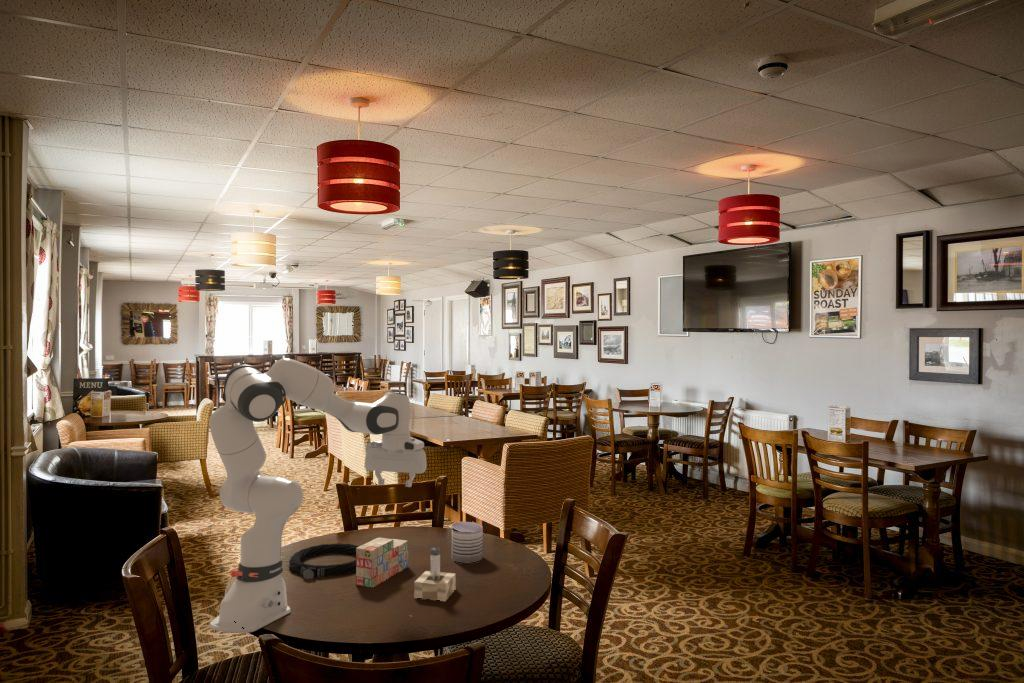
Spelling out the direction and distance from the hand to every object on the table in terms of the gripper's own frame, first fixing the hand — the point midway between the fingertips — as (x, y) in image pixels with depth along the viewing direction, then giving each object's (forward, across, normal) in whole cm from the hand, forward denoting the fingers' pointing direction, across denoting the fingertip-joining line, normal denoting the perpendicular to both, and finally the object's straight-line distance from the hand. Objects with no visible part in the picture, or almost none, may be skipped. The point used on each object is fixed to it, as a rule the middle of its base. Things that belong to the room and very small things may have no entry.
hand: (394, 485), depth 213 cm
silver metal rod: (+32, +15, -3) cm, 36 cm away
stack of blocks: (+32, -7, +8) cm, 34 cm away
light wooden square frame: (+32, +16, -3) cm, 36 cm away
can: (+31, +15, +31) cm, 47 cm away
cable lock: (+32, -30, +13) cm, 46 cm away
